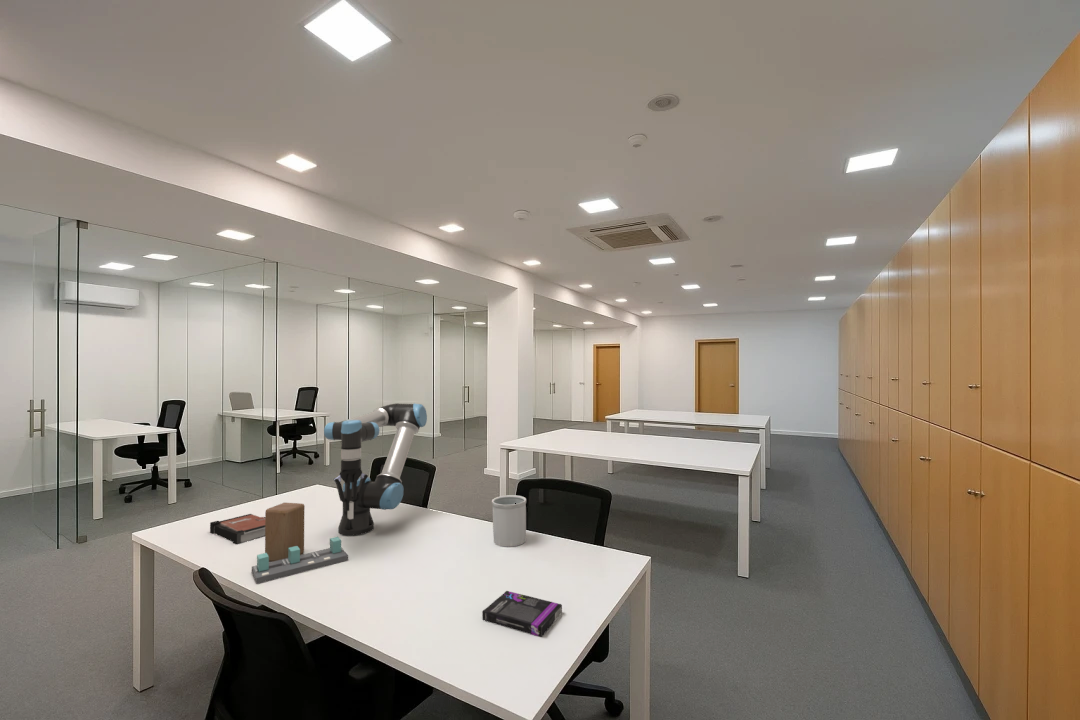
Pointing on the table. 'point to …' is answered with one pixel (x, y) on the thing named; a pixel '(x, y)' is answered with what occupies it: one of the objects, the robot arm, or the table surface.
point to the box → (522, 613)
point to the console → (299, 565)
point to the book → (240, 528)
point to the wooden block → (284, 530)
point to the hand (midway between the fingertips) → (350, 518)
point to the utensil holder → (509, 520)
